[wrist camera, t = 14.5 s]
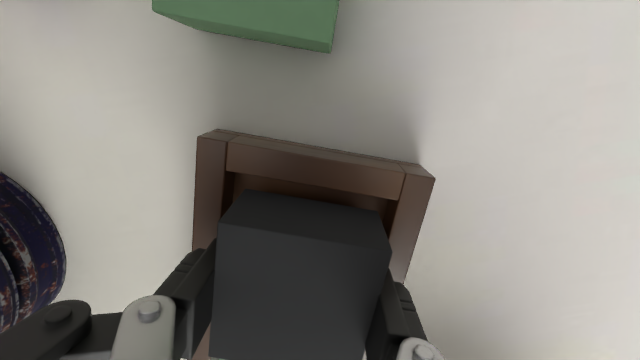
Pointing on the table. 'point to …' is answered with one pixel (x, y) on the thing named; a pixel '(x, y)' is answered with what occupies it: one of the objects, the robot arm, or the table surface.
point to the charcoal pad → (295, 279)
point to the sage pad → (260, 19)
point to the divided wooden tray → (307, 188)
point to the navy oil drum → (26, 255)
